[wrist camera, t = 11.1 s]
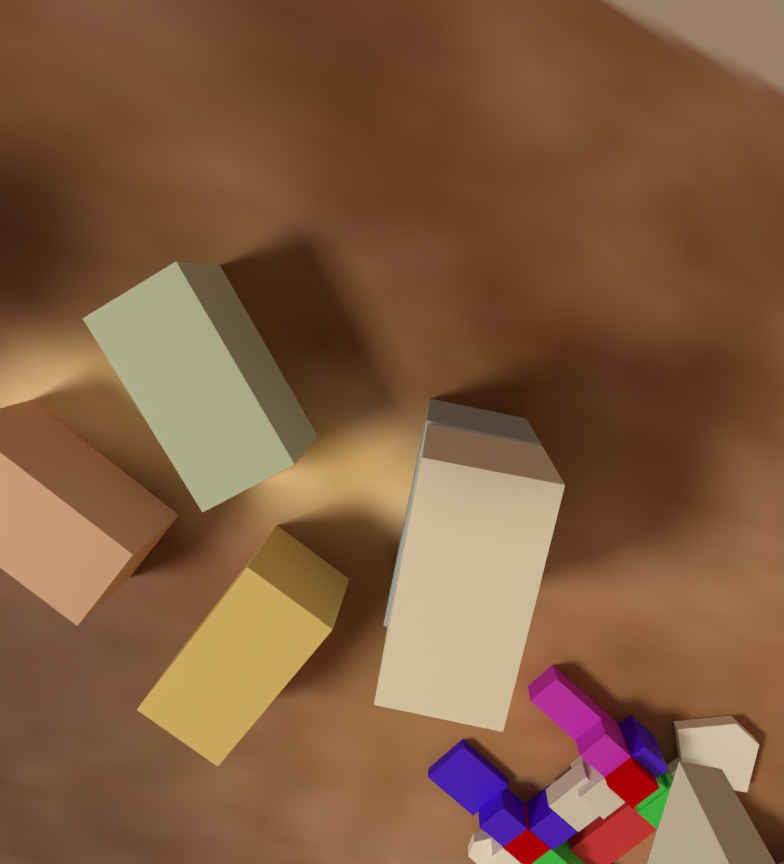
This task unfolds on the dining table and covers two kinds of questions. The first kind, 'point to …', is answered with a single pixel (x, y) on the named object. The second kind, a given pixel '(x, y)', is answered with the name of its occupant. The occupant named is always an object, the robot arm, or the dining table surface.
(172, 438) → the sage brick
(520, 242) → the dining table surface
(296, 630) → the ochre brick
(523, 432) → the slate brick
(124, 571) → the terracotta brick
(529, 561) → the cream brick
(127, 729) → the dining table surface
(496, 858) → the building block set
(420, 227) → the dining table surface
